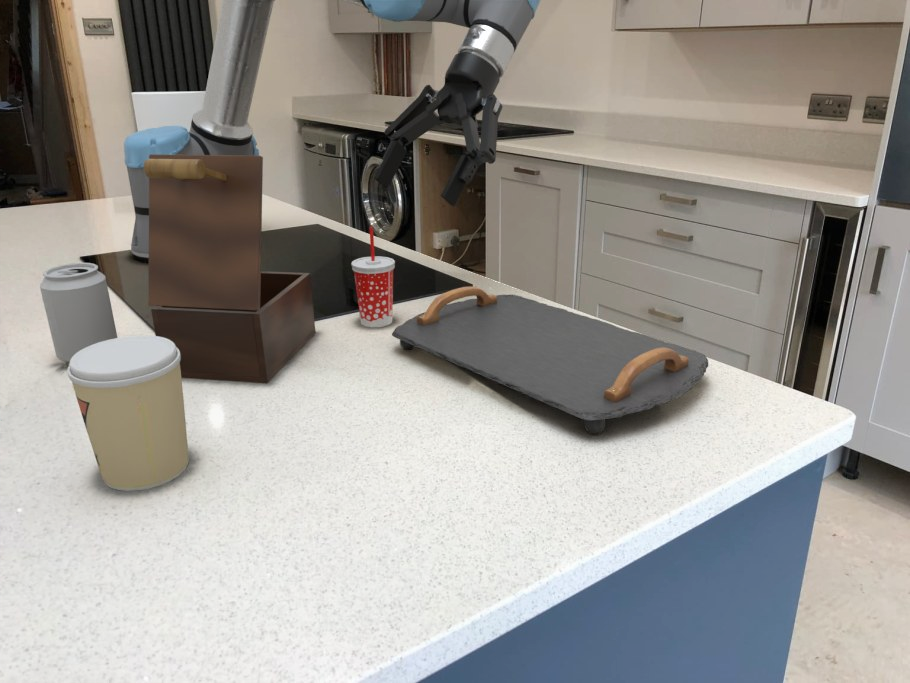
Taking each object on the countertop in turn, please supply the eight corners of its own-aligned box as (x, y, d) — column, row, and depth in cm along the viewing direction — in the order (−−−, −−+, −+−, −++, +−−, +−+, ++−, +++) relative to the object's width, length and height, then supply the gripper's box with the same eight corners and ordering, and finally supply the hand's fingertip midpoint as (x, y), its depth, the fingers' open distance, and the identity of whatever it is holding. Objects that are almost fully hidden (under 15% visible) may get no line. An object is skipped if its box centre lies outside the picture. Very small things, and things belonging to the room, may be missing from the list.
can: (133, 349, 98) (116, 262, 93) (90, 371, 91) (70, 279, 87) (88, 342, 100) (70, 257, 96) (44, 364, 94) (22, 273, 89)
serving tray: (375, 345, 98) (372, 301, 96) (498, 306, 112) (498, 267, 110) (610, 455, 71) (615, 397, 69) (732, 384, 85) (740, 335, 83)
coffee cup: (113, 446, 74) (89, 336, 69) (207, 441, 75) (190, 331, 70) (76, 499, 65) (46, 377, 61) (184, 493, 66) (162, 372, 61)
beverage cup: (374, 311, 110) (369, 220, 105) (406, 319, 107) (402, 225, 102) (346, 323, 106) (339, 228, 101) (378, 332, 103) (373, 234, 97)
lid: (152, 155, 85) (110, 142, 77) (263, 156, 83) (230, 143, 75) (151, 305, 86) (110, 307, 79) (260, 310, 84) (228, 312, 77)
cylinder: (212, 218, 172) (195, 93, 162) (139, 219, 173) (117, 94, 162) (234, 204, 188) (219, 89, 178) (167, 204, 189) (149, 90, 178)
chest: (225, 328, 105) (216, 269, 101) (315, 333, 102) (310, 273, 99) (162, 376, 90) (150, 308, 86) (267, 383, 87) (259, 314, 84)
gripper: (404, 43, 112) (340, 163, 110) (536, 56, 97) (464, 195, 95) (430, 74, 118) (370, 188, 116) (558, 90, 103) (491, 222, 101)
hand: (412, 192), depth 106 cm, fingers open, 13 cm apart
